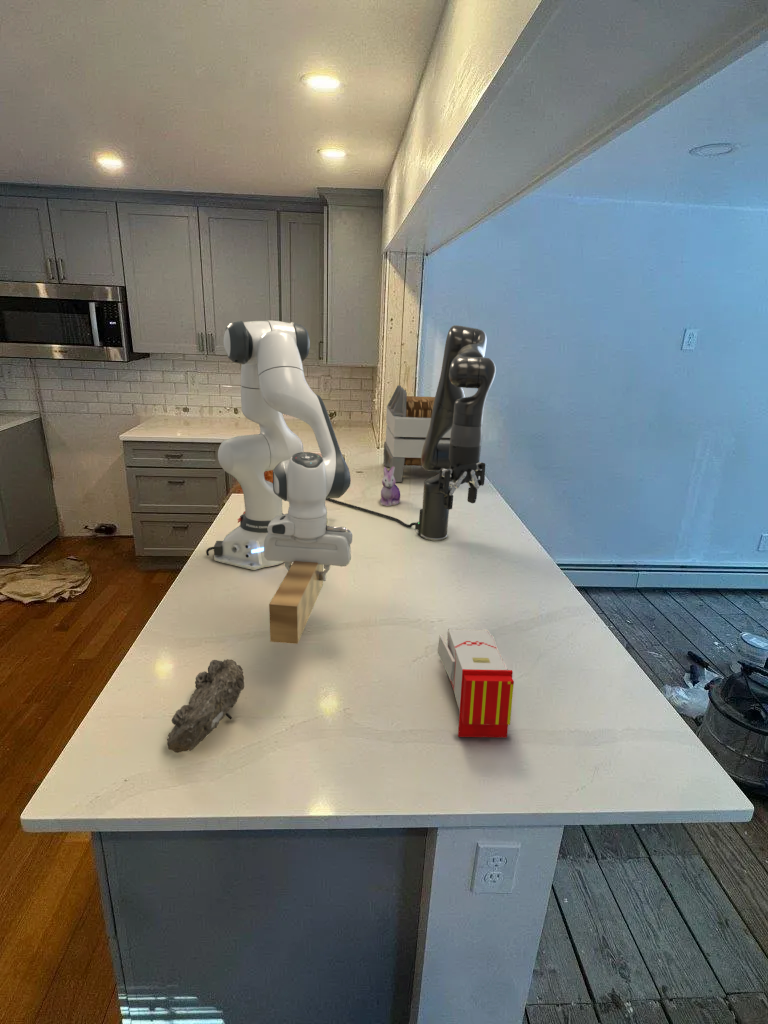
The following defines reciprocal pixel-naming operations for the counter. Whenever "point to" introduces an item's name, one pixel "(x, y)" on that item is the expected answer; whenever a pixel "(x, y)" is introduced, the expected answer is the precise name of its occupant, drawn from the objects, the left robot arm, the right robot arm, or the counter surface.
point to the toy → (478, 682)
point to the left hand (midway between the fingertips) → (307, 578)
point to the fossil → (206, 705)
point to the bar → (294, 602)
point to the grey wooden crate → (407, 430)
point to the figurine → (389, 489)
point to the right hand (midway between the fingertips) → (459, 505)
